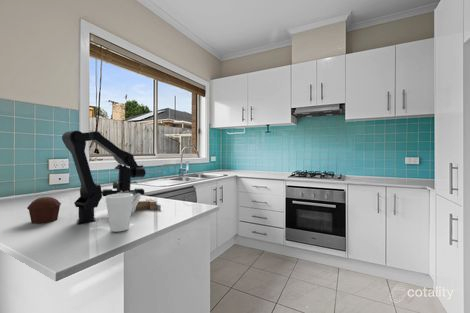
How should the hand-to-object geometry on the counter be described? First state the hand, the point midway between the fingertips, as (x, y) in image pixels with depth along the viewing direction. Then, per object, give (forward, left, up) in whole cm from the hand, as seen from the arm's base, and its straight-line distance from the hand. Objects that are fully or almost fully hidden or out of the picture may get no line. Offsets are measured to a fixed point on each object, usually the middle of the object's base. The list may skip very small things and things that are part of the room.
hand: (122, 209), depth 112 cm
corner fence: (0, -13, -2) cm, 13 cm away
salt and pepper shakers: (0, -2, -1) cm, 2 cm away
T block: (0, -11, -2) cm, 11 cm away
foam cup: (-28, +5, -2) cm, 28 cm away
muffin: (+3, +30, -2) cm, 31 cm away
